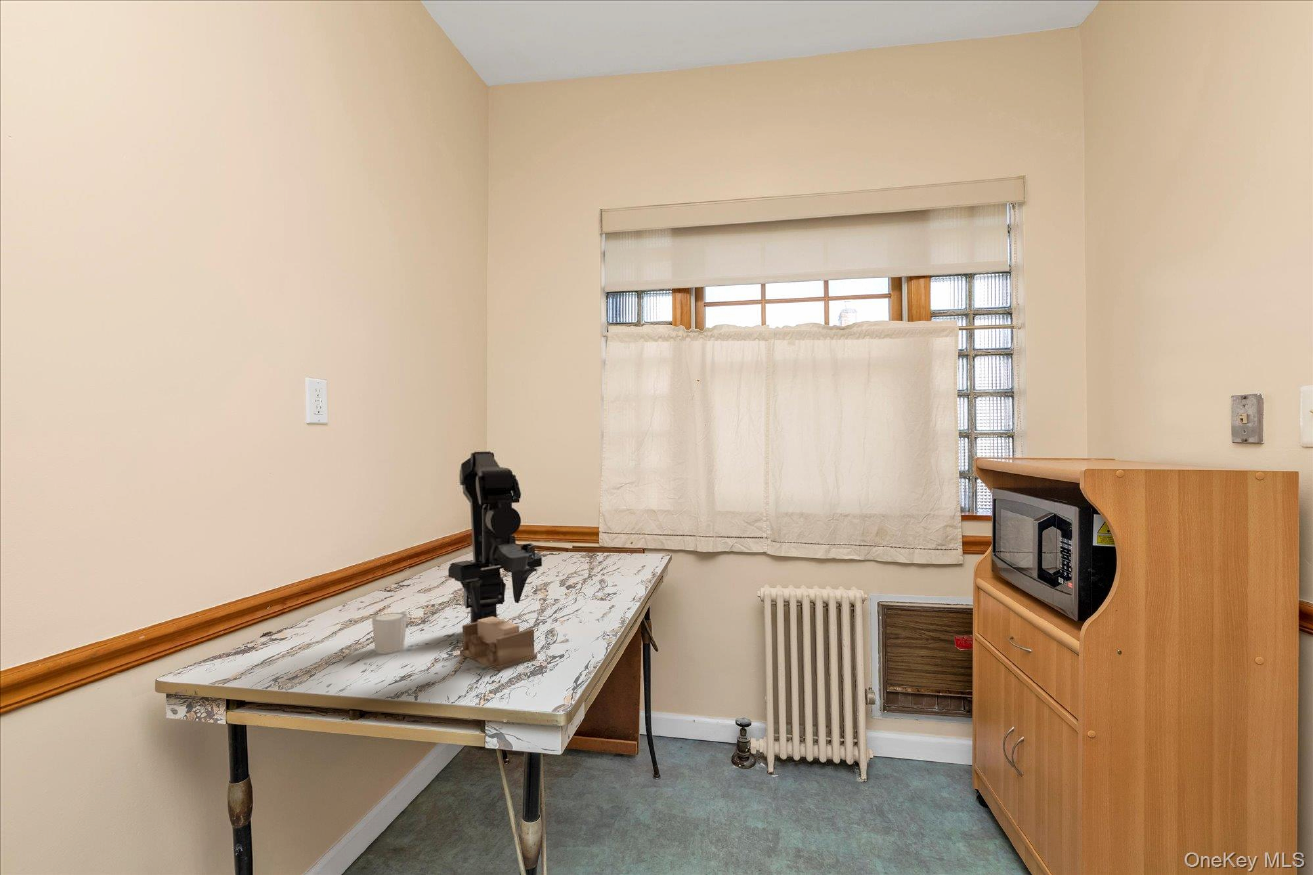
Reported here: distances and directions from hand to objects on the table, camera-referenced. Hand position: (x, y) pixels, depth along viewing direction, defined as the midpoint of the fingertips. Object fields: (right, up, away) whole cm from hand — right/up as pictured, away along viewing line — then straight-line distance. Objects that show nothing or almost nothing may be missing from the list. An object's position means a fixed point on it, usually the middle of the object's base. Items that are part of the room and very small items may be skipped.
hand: (497, 607), depth 122 cm
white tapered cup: (-24, -11, +5) cm, 27 cm away
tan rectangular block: (0, -7, 0) cm, 7 cm away
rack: (0, -10, 0) cm, 10 cm away
